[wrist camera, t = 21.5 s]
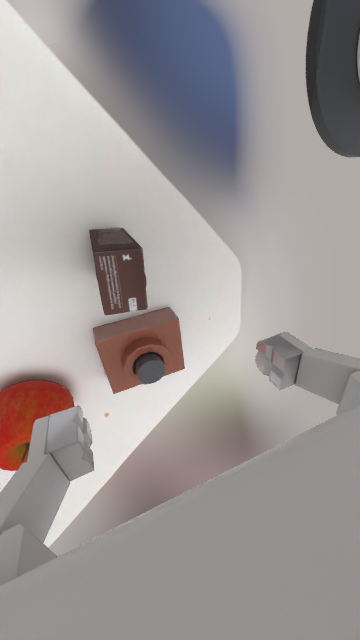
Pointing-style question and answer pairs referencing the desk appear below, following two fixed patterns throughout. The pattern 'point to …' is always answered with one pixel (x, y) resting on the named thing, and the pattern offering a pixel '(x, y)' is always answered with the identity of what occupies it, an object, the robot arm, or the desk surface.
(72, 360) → the desk surface
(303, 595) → the robot arm
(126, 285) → the box
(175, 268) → the desk surface
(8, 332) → the desk surface
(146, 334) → the brown button mount
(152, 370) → the grey push button
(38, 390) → the apple
